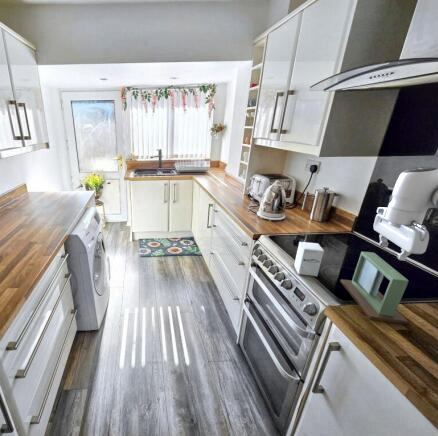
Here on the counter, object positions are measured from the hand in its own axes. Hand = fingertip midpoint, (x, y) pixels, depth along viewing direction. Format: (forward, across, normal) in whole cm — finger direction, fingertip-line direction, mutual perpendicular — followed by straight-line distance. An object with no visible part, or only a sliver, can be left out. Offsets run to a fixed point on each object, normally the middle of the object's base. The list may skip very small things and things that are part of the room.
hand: (391, 252), depth 85 cm
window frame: (+17, -5, +5) cm, 19 cm away
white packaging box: (+17, +11, +21) cm, 29 cm away
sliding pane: (+15, -2, +2) cm, 15 cm away
